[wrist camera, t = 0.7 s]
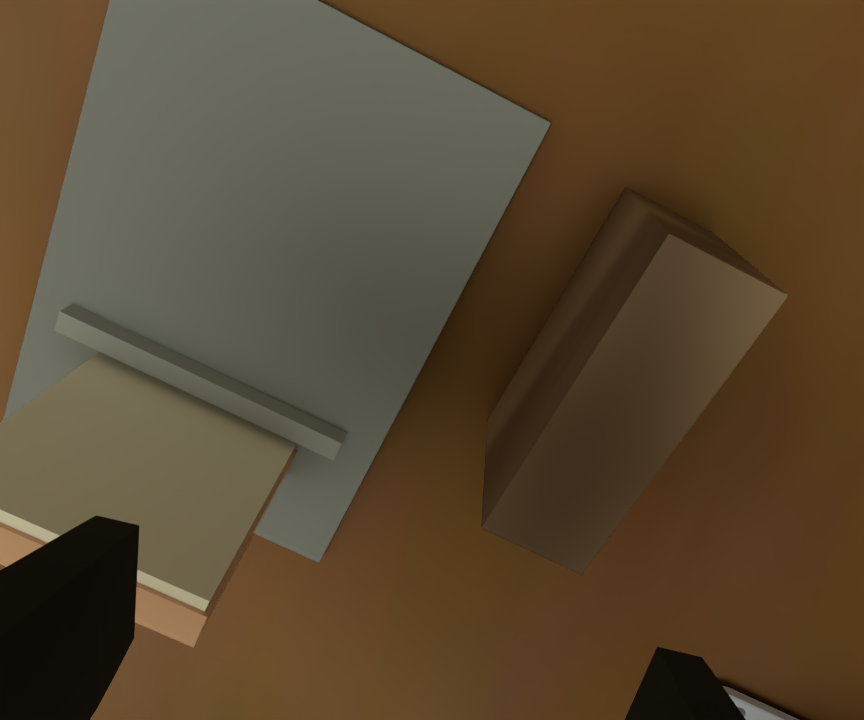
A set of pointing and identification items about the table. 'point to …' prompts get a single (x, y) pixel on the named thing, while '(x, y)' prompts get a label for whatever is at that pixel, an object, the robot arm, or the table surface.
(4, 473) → the tile
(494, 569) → the table surface
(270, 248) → the mat
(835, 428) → the table surface
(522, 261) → the table surface
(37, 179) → the table surface
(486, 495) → the bar
